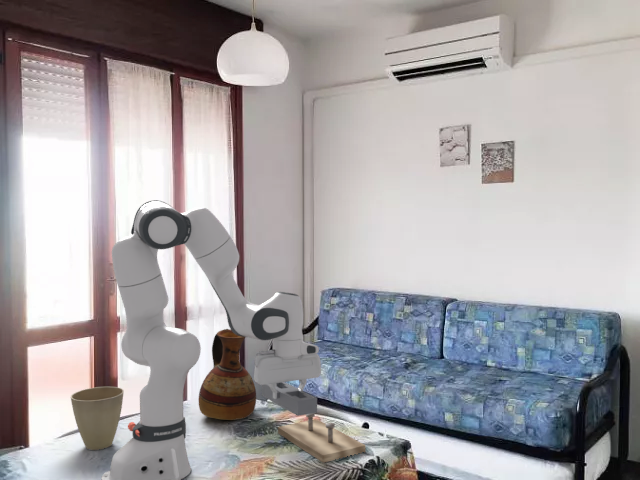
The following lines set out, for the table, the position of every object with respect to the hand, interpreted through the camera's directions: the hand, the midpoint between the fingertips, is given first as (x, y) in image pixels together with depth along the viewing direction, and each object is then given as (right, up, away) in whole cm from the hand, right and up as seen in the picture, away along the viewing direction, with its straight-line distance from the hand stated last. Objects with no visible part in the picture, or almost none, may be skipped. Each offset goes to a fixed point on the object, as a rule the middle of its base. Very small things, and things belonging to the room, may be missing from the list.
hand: (288, 396), depth 169 cm
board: (+9, -16, +7) cm, 19 cm away
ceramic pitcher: (-23, -16, +34) cm, 44 cm away
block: (0, -2, 0) cm, 2 cm away
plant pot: (-57, -17, +8) cm, 60 cm away
